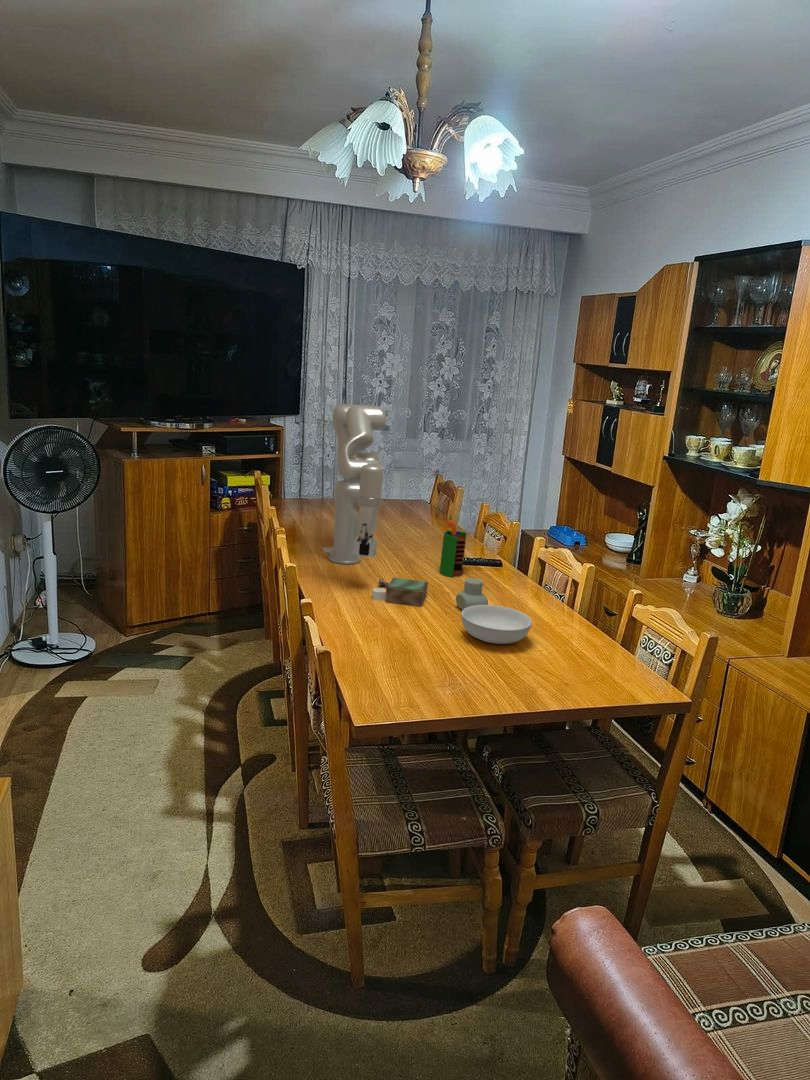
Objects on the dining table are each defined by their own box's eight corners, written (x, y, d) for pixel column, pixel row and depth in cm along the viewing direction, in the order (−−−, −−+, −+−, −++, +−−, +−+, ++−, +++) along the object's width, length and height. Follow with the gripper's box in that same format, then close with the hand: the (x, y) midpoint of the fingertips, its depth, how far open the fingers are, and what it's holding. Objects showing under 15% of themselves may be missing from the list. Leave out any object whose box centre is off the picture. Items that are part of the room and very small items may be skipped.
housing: (353, 554, 254) (354, 537, 252) (356, 550, 259) (357, 534, 257) (372, 557, 253) (374, 540, 251) (376, 553, 258) (377, 536, 256)
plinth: (385, 602, 246) (386, 586, 245) (392, 591, 258) (393, 576, 256) (421, 606, 244) (422, 591, 243) (426, 595, 256) (427, 581, 255)
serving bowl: (484, 655, 209) (487, 632, 207) (446, 629, 226) (448, 607, 225) (543, 647, 218) (546, 625, 217) (502, 622, 236) (505, 601, 235)
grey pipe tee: (452, 604, 249) (455, 576, 247) (474, 603, 252) (477, 575, 250) (467, 616, 239) (470, 586, 237) (489, 614, 243) (493, 585, 240)
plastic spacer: (373, 600, 247) (374, 592, 246) (371, 596, 251) (372, 588, 250) (385, 600, 248) (386, 592, 247) (383, 596, 252) (383, 588, 251)
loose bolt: (378, 587, 261) (379, 580, 260) (380, 585, 264) (380, 578, 263) (395, 589, 260) (395, 582, 259) (396, 587, 263) (397, 580, 262)
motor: (461, 578, 279) (466, 526, 274) (437, 575, 281) (442, 523, 276) (464, 571, 289) (469, 521, 284) (441, 568, 290) (446, 518, 286)
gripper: (364, 494, 259) (360, 544, 264) (352, 505, 243) (348, 558, 248) (385, 497, 258) (381, 547, 263) (375, 508, 242) (370, 561, 247)
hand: (365, 552), depth 256 cm, fingers closed on housing, 5 cm apart
